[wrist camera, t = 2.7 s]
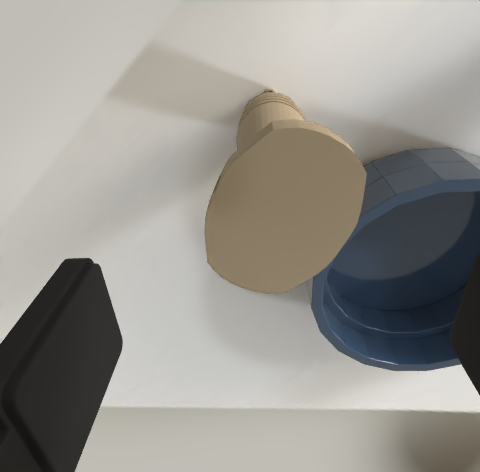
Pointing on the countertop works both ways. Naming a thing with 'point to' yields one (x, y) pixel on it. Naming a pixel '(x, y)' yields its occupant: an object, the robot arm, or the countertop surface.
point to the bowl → (404, 262)
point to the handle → (282, 199)
